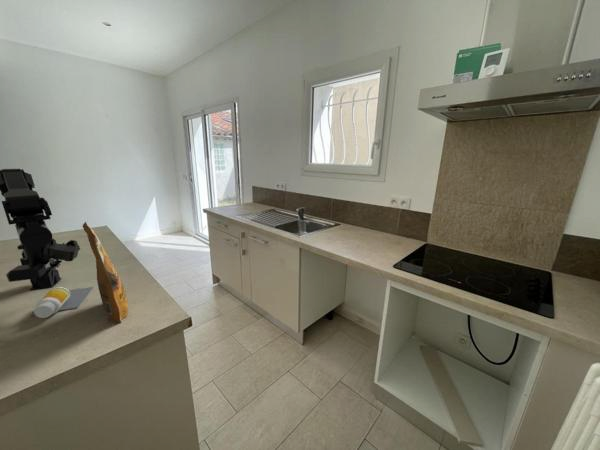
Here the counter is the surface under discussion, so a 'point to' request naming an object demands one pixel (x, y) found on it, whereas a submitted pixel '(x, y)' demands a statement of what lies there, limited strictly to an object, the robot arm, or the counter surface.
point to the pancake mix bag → (108, 281)
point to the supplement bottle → (51, 302)
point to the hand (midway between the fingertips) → (50, 287)
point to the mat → (74, 299)
